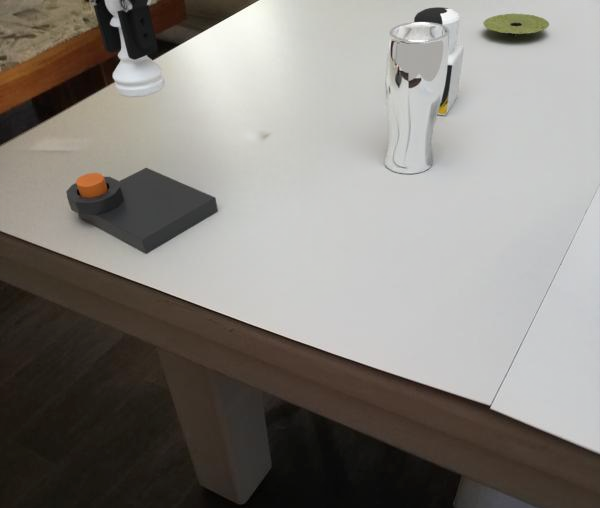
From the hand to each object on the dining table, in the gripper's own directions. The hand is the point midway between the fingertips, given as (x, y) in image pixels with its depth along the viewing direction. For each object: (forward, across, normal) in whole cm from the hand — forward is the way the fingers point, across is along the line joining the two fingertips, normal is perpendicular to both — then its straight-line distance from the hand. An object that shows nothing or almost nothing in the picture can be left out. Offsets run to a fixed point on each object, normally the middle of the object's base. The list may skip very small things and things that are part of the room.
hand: (131, 49), depth 58 cm
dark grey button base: (+18, -2, -2) cm, 18 cm away
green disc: (+18, +4, +78) cm, 80 cm away
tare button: (+14, -6, -5) cm, 17 cm away
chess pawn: (+4, 0, 0) cm, 4 cm away
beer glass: (+18, +16, +26) cm, 36 cm away
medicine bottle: (+18, +8, +44) cm, 48 cm away
